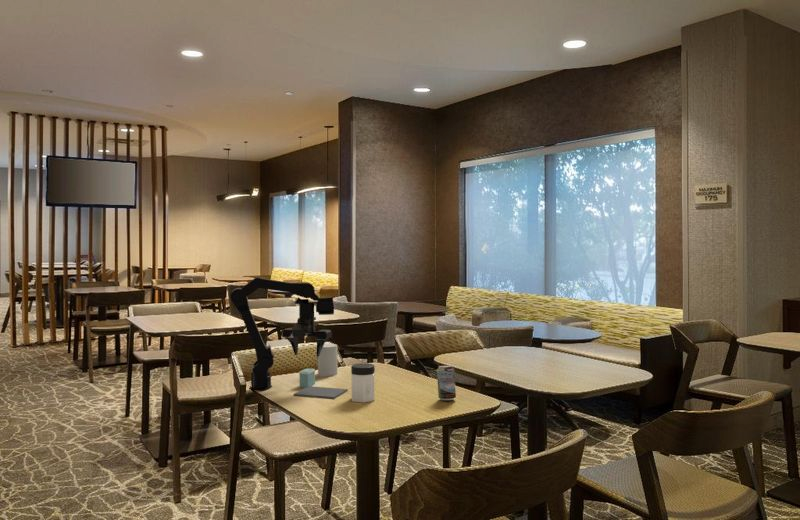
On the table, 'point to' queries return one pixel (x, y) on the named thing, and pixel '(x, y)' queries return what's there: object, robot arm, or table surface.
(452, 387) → the beverage can
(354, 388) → the jar
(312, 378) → the pale teal block
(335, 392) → the mat
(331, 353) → the cup
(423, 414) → the table surface
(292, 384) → the table surface
